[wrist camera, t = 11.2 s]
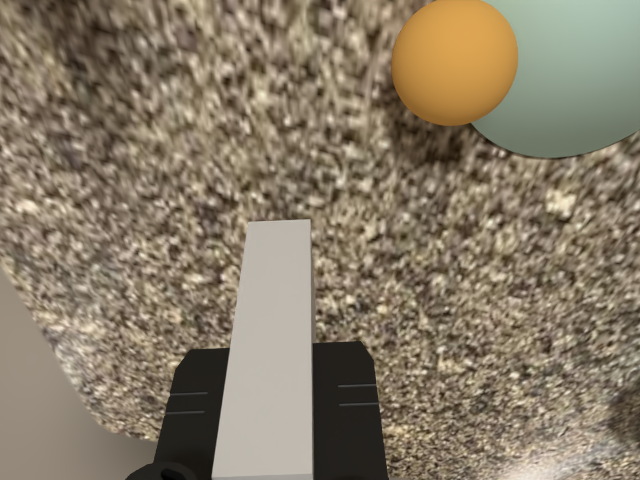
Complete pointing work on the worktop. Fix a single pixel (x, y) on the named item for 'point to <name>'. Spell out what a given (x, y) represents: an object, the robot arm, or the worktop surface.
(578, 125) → the smooth pale green disc
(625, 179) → the worktop surface
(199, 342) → the worktop surface
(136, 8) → the worktop surface
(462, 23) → the ball
